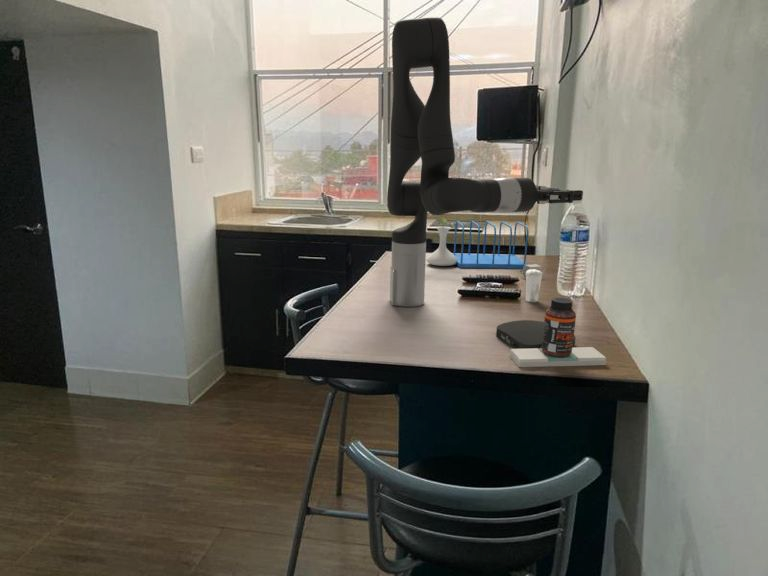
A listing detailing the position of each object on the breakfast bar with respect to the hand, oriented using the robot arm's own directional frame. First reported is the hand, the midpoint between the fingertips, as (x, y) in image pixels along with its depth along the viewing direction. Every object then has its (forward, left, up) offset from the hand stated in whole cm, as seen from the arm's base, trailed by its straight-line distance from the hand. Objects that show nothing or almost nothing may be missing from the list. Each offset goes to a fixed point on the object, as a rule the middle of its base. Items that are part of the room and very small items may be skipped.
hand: (568, 193), depth 126 cm
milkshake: (+2, +21, -32) cm, 39 cm away
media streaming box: (-9, -10, -33) cm, 35 cm away
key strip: (-9, -22, -32) cm, 40 cm away
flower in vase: (-15, +69, -32) cm, 78 cm away
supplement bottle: (-9, -22, -31) cm, 39 cm away
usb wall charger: (+11, +50, -32) cm, 61 cm away
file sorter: (+3, +72, -32) cm, 79 cm away
